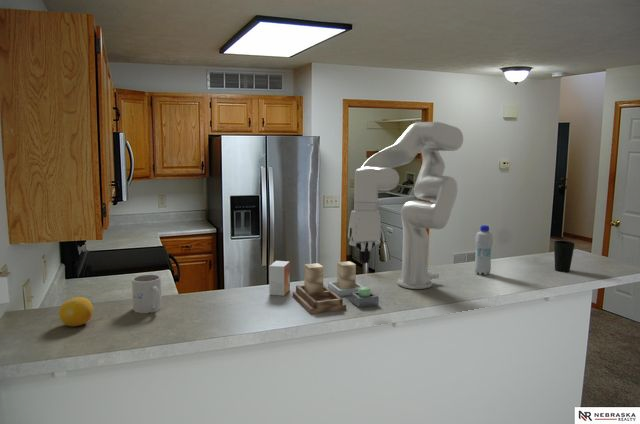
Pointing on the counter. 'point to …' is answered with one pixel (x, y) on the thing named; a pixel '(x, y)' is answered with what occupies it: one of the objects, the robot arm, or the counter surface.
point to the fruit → (76, 311)
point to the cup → (563, 255)
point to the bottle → (483, 251)
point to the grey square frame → (345, 291)
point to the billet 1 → (313, 277)
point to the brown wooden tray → (319, 300)
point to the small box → (279, 278)
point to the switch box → (364, 300)
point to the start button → (364, 292)
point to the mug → (146, 293)
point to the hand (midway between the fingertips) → (364, 262)
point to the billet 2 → (346, 275)
